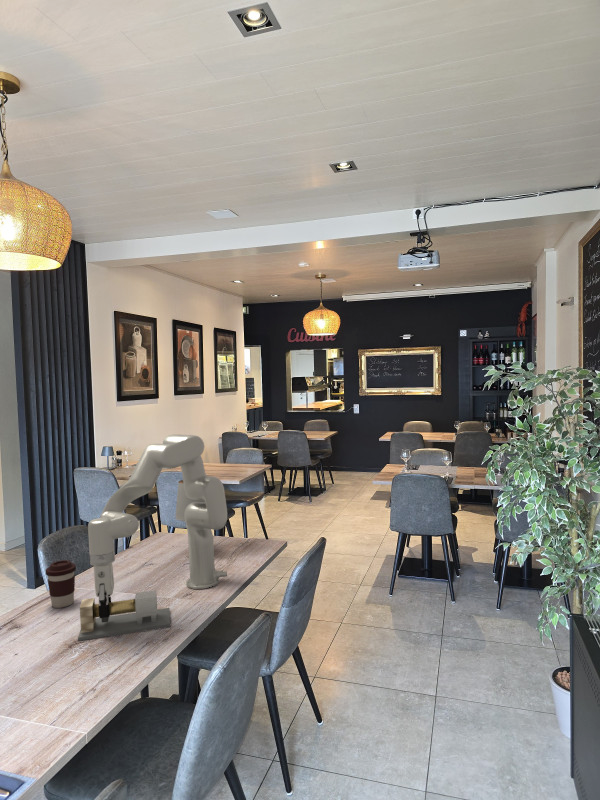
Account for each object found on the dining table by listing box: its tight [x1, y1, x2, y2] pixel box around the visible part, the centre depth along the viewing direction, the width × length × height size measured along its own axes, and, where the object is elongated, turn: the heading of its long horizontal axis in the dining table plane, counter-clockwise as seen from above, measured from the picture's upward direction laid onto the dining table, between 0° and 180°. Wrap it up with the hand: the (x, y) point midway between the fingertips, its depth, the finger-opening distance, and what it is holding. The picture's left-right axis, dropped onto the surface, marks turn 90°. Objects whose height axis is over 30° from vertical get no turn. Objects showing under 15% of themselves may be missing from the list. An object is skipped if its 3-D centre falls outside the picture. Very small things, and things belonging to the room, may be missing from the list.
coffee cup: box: [45, 559, 77, 609], centre depth 193 cm, size 10×10×15 cm
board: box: [77, 607, 171, 642], centre depth 174 cm, size 28×13×1 cm, turn 105°
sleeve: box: [134, 589, 158, 624], centre depth 175 cm, size 6×6×8 cm
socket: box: [79, 597, 97, 633], centre depth 170 cm, size 4×7×8 cm, turn 15°
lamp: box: [174, 479, 205, 522], centre depth 242 cm, size 19×19×34 cm
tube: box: [93, 595, 136, 623], centre depth 173 cm, size 18×5×6 cm, turn 105°
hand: (105, 612), depth 172 cm, fingers closed on tube, 5 cm apart
